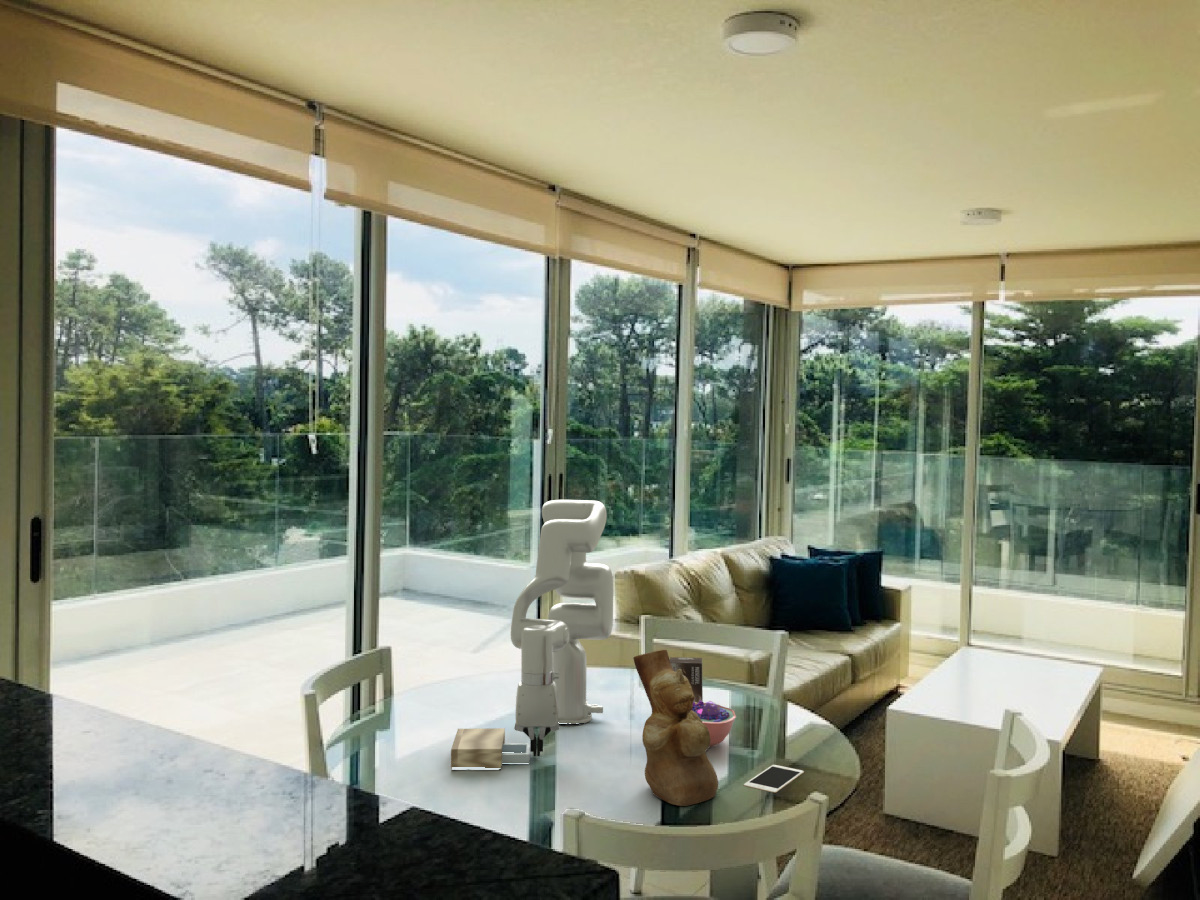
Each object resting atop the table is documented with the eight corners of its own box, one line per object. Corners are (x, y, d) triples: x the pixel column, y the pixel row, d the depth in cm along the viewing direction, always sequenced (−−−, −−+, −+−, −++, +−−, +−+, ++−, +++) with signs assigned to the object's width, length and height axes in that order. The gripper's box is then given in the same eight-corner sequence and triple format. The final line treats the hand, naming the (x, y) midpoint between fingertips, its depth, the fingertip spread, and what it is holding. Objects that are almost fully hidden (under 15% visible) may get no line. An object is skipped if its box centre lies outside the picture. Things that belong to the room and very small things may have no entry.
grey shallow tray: (530, 753, 238) (530, 743, 238) (529, 764, 230) (529, 754, 230) (472, 754, 238) (472, 743, 238) (469, 765, 230) (469, 754, 230)
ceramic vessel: (676, 813, 201) (677, 668, 201) (613, 782, 219) (613, 648, 218) (732, 797, 211) (734, 658, 210) (667, 768, 228) (668, 640, 228)
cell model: (683, 728, 259) (683, 686, 259) (749, 744, 246) (749, 699, 246) (645, 744, 246) (645, 699, 246) (712, 761, 233) (712, 714, 233)
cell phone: (742, 787, 218) (742, 784, 218) (773, 766, 231) (773, 764, 231) (775, 794, 213) (775, 791, 213) (804, 773, 227) (804, 770, 227)
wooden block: (504, 748, 242) (504, 728, 242) (501, 770, 226) (501, 748, 226) (457, 748, 241) (458, 728, 241) (451, 770, 226) (451, 749, 226)
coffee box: (702, 715, 271) (703, 657, 271) (702, 722, 264) (703, 662, 264) (669, 714, 272) (669, 656, 271) (668, 721, 265) (669, 661, 265)
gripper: (568, 674, 238) (567, 749, 238) (506, 674, 237) (506, 749, 238) (568, 681, 231) (568, 759, 231) (504, 682, 230) (504, 760, 230)
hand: (536, 754), depth 234 cm, fingers closed
